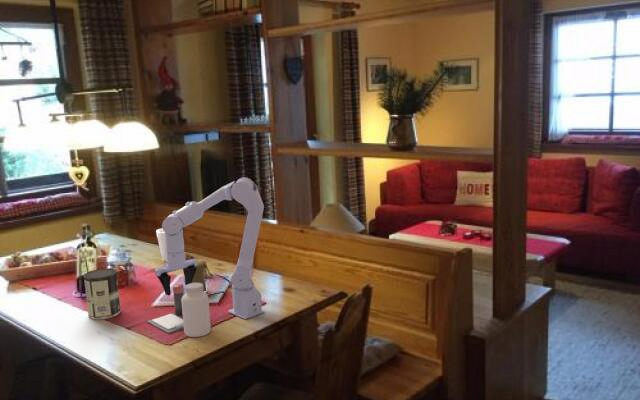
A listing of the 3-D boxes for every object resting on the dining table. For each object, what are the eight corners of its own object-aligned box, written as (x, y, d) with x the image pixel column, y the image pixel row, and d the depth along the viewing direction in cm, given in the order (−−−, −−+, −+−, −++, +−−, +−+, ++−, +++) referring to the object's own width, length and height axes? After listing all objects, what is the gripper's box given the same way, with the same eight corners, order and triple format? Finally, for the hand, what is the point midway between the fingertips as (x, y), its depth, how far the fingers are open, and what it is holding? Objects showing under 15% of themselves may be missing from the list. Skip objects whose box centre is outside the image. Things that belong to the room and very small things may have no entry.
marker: (187, 313, 189) (185, 285, 187) (178, 316, 187) (176, 288, 185) (181, 310, 191) (179, 283, 189) (172, 313, 189) (170, 286, 187)
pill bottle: (199, 324, 180) (196, 279, 177) (216, 331, 174) (213, 284, 172) (178, 333, 174) (174, 286, 171) (195, 340, 168) (192, 291, 166)
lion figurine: (177, 276, 227) (175, 254, 225) (184, 271, 232) (183, 250, 230) (210, 279, 222) (208, 256, 220) (217, 274, 227) (215, 252, 225)
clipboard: (194, 324, 179) (194, 320, 179) (168, 333, 173) (168, 329, 173) (172, 313, 189) (172, 310, 188) (147, 322, 182) (147, 318, 182)
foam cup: (169, 263, 243) (167, 233, 240) (154, 260, 248) (151, 231, 245) (185, 257, 251) (183, 228, 248) (170, 254, 256) (168, 226, 253)
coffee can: (113, 305, 197) (109, 266, 195) (125, 313, 190) (121, 273, 187) (83, 313, 191) (78, 273, 188) (94, 322, 183) (90, 280, 180)
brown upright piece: (209, 289, 210) (207, 261, 208) (204, 295, 204) (202, 266, 202) (193, 289, 211) (190, 260, 209) (187, 295, 205) (185, 266, 203)
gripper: (187, 244, 192) (190, 282, 195) (148, 253, 182) (151, 294, 185) (199, 248, 188) (202, 287, 190) (159, 258, 178) (163, 299, 180)
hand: (178, 291), depth 187 cm, fingers open, 7 cm apart
